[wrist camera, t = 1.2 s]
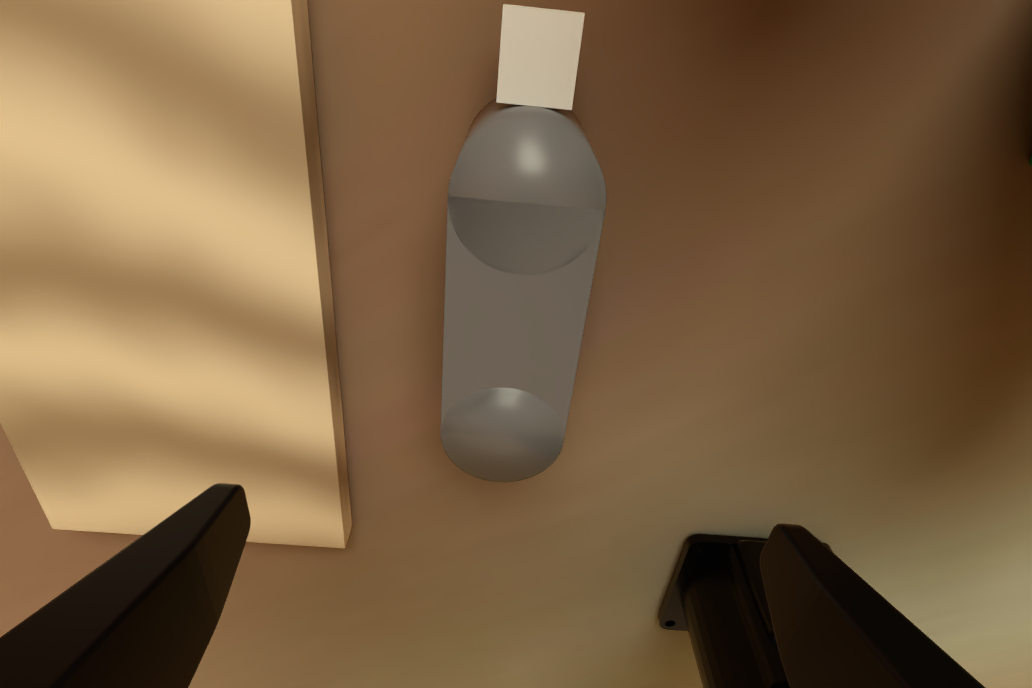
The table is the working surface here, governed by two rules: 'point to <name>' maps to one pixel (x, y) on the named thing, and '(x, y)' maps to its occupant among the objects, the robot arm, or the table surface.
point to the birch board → (168, 265)
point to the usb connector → (519, 256)
